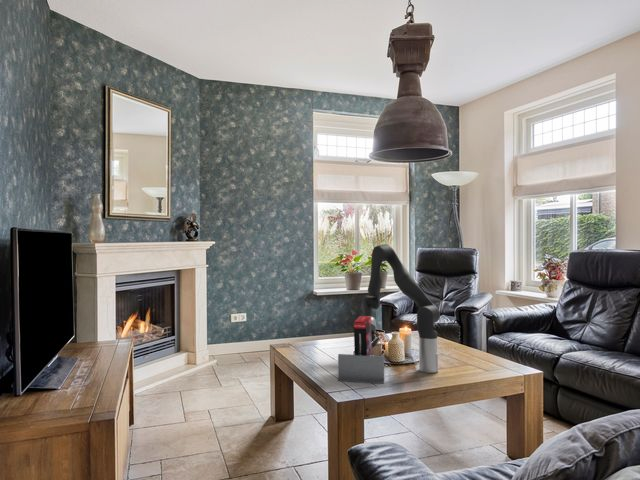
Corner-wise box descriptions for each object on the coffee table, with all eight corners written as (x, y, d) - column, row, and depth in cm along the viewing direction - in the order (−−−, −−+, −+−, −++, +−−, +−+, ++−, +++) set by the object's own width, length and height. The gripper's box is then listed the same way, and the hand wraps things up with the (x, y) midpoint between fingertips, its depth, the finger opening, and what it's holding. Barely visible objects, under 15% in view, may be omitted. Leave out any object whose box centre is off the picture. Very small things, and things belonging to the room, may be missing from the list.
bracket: (385, 375, 233) (385, 351, 232) (383, 383, 219) (383, 358, 219) (342, 372, 237) (341, 349, 237) (337, 381, 224) (337, 356, 224)
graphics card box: (367, 377, 229) (367, 322, 229) (353, 376, 231) (353, 321, 231) (372, 367, 246) (371, 316, 246) (359, 366, 248) (358, 315, 247)
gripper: (356, 322, 258) (353, 349, 246) (380, 323, 255) (378, 351, 243) (357, 329, 263) (354, 357, 251) (381, 330, 260) (379, 358, 248)
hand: (366, 354), depth 247 cm, fingers closed
